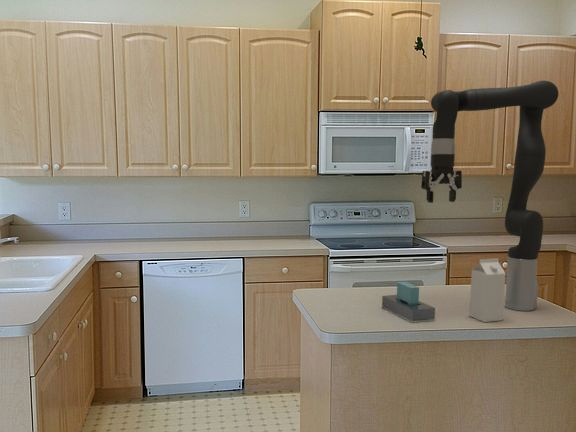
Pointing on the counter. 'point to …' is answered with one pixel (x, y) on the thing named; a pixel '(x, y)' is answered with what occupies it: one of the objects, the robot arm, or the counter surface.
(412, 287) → the teal elongated block
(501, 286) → the milk carton
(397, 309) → the grey socket block
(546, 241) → the counter surface
